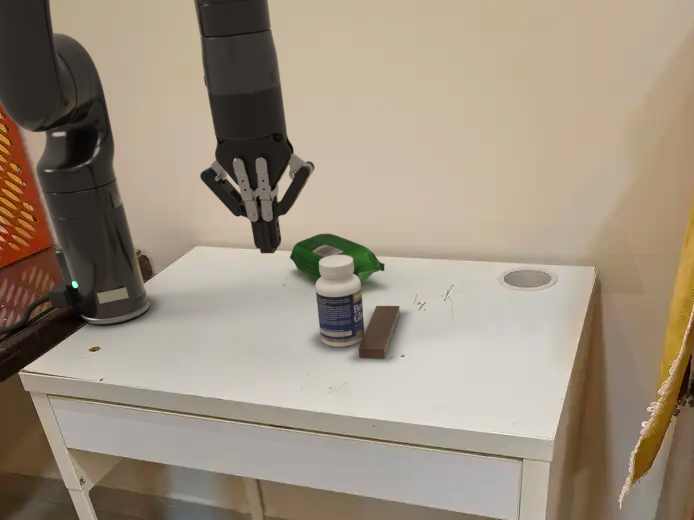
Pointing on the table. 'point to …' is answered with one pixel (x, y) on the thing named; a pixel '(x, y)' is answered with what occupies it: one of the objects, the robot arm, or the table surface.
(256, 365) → the table surface
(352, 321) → the pill bottle
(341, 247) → the snack package
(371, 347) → the bar
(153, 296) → the table surface
